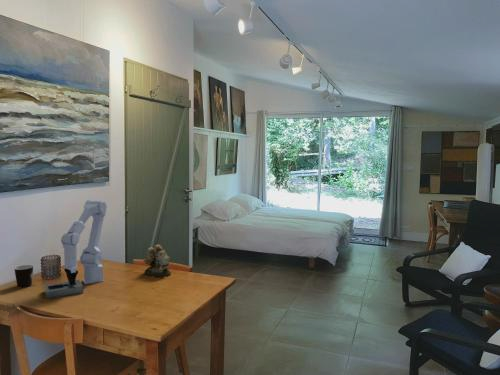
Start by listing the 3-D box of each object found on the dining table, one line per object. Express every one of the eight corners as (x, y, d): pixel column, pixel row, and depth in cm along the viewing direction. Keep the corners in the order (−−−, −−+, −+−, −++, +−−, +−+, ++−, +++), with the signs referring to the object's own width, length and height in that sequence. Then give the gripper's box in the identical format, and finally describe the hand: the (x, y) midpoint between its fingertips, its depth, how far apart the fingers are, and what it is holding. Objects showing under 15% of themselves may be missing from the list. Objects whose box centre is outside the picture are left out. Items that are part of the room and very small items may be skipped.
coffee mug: (25, 289, 198) (24, 270, 197) (10, 288, 200) (10, 269, 199) (41, 282, 209) (41, 264, 209) (28, 281, 211) (27, 263, 210)
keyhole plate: (79, 286, 204) (79, 279, 203) (83, 292, 194) (83, 286, 193) (44, 291, 195) (44, 284, 195) (47, 299, 185) (47, 292, 185)
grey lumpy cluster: (137, 274, 225) (137, 245, 224) (151, 269, 235) (150, 241, 234) (163, 278, 217) (163, 248, 216) (175, 273, 228) (175, 244, 227)
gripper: (59, 254, 199) (60, 280, 200) (63, 261, 186) (64, 288, 188) (74, 253, 202) (75, 278, 204) (79, 259, 190) (80, 286, 191)
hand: (71, 283), depth 196 cm, fingers open, 4 cm apart
